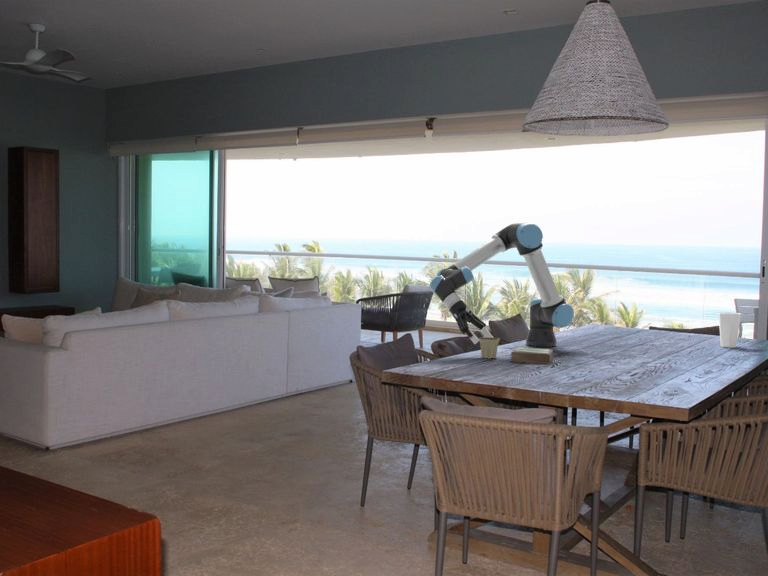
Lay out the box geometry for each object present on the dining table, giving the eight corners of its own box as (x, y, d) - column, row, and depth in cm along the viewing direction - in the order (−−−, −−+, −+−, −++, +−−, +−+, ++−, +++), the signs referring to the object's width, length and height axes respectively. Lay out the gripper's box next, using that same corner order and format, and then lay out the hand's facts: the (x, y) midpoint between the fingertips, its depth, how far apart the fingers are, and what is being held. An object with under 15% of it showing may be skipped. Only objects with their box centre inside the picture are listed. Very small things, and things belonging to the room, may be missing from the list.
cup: (712, 346, 401) (714, 312, 400) (722, 344, 408) (723, 311, 407) (735, 348, 392) (736, 314, 392) (743, 347, 399) (745, 313, 398)
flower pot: (474, 356, 352) (474, 337, 351) (493, 356, 354) (494, 337, 354) (483, 359, 343) (483, 340, 342) (503, 359, 346) (503, 339, 345)
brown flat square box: (516, 356, 353) (516, 347, 353) (552, 358, 348) (553, 348, 348) (511, 361, 338) (511, 351, 337) (549, 363, 333) (549, 353, 333)
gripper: (463, 308, 368) (491, 343, 361) (435, 312, 348) (465, 349, 340) (473, 298, 365) (502, 333, 357) (446, 300, 344) (476, 337, 337)
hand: (484, 341), depth 349 cm, fingers open, 13 cm apart
